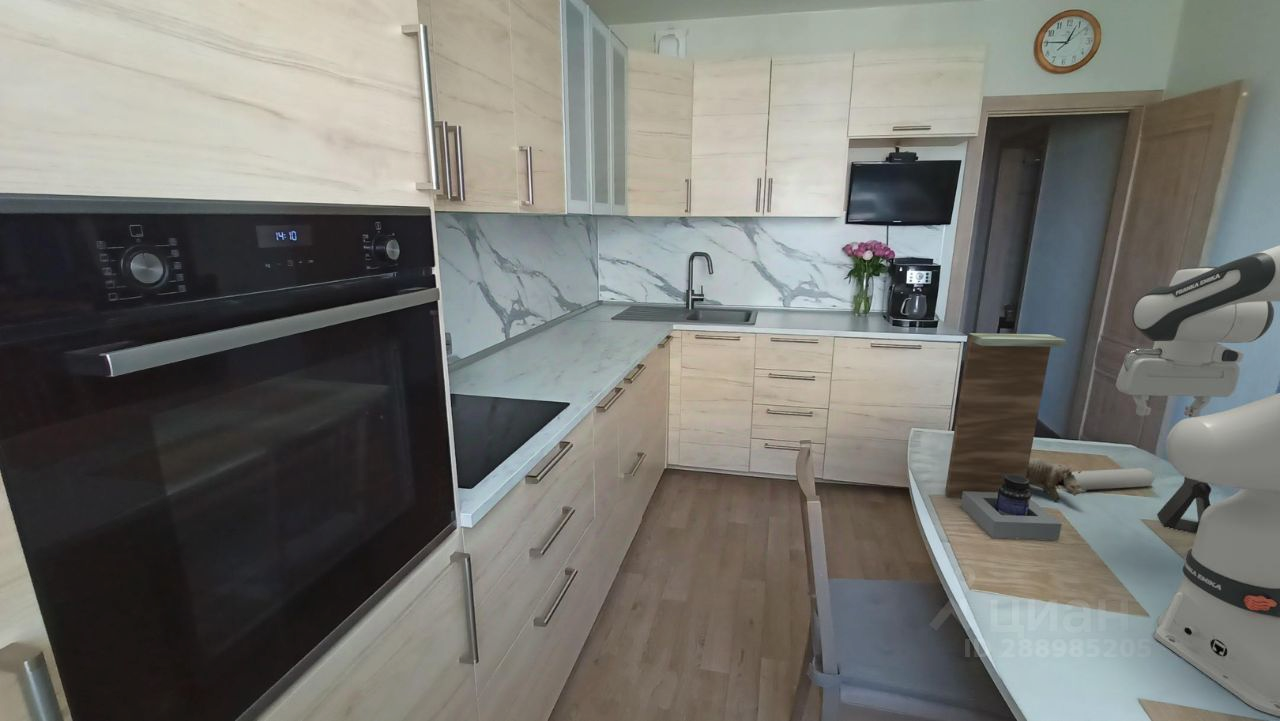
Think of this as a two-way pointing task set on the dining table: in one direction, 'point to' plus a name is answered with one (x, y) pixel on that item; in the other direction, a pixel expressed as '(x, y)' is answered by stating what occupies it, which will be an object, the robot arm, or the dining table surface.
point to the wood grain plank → (997, 409)
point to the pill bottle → (1013, 496)
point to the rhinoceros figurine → (1052, 477)
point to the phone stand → (1185, 505)
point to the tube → (1113, 479)
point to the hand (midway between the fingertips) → (1166, 415)
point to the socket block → (1009, 518)
